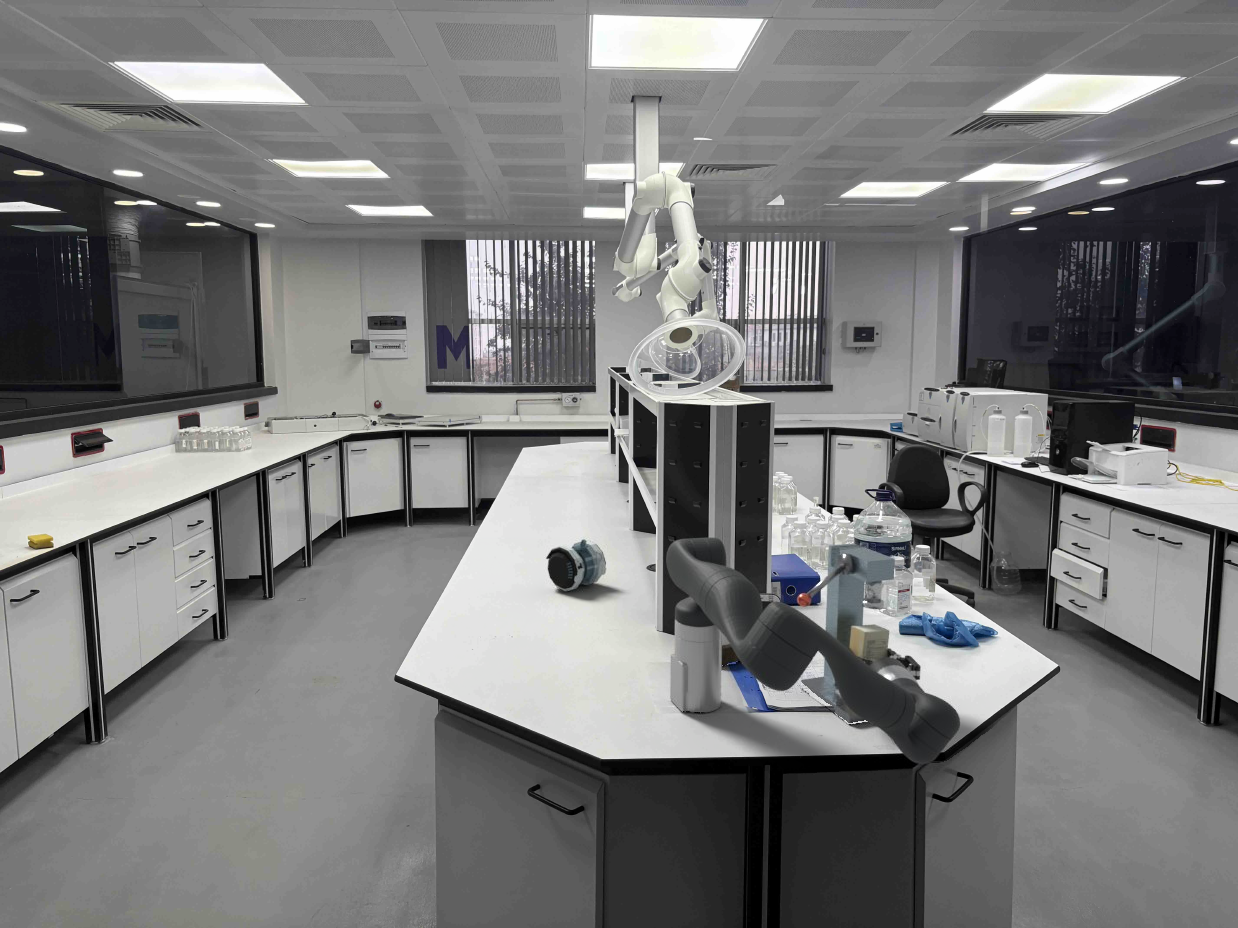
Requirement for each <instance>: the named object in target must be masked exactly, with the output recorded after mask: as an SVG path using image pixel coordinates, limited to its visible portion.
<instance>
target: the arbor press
mask: <svg viewBox="0 0 1238 928" xmlns="http://www.w3.org/2000/svg"><path fill="white" fill-rule="evenodd" d="M827 557H828V560H827V576H825V577H824V578H823V579H821V580H820V581H819V582H818V583H817V584H815V586H813V588H811V589H810V590H809V591H807V593H805V592H803V593H800V594H798V596H797V598H796V602H797V604H798V605H799V606H800V607H803V608H807V607H809V606H810V605H811V603H812V598H813V597H814V596H815V595H817V594H818V593H819V592H820V591H821V590H823V589H824V588H825V587H826V606H825V607H826V608H825V609H826V610H825V611H826V612H825V631H827V632H828V633H829V634H831V635H832V636H833V637H834V638H836V639H837V640H838V641H839V642H841V643H842V644H843V645H844V646H846V647H847V648H850V638H851V627H852V626H860V625H864V623H863V622H864V608H866V609H869V610H880V609H884V608H885V601H884V600H883V599H882V594H883V593H882V592H883V591H882V590H883V589H882V588H883V581H891V580H892V581H893V580H895V565H896V559H895V558H894V557H892V556H889V555H886V554H883V553H880V552H878V551H875V550H872V549H870V548H868V547H865V546H862V545H859V544H857V543H854V542H853V543H846V544H845V543H843V544H832V545H828V555H827ZM823 658H824V657H823ZM823 660H824V661H823V662H824V663H823V665H824V666H823V676H820V677H818V676H817V677H812V678H806V679H800V683H801V682H802V683H803V684H804V685H805V686H807V687H808V688H809V689H810V690H811V691H812V692H813V693H815V694H816V695H817V696H818V697H820V698H821V699H823V700H824V701H825V702H826V703H828V704H830V705H832V706H833V707H834V709H835V713H836V714H837V715H838V716H840V717H842V718H843V719H844V720H846V721H847V722H848V723H853V722H858V721H864V720H865V719H863V718H861V717H859V716H858V715H857V714H855V713H854V712H853V711H852V710H850V708H849V707H848V706H847V705H846V704H845V702H844V701H843V699H842V697H841V695H840V693H839V690H838V688H837V685H836V682H835V679H834V677H833V674H832V672H831V669H830V667H829V665H828V663H827V661H826V659H825V658H824V659H823Z"/></svg>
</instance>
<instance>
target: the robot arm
mask: <svg viewBox="0 0 1238 928" xmlns="http://www.w3.org/2000/svg"><path fill="white" fill-rule="evenodd" d="M665 560H666V562H665V563H666V569H667V572H668V575H669V577H670V579H671V581H672V582H673V583H674V585H675V586H676V587H678V589H680V590H681V591H682V592H684V593H685V594H687V595H688V597H686V598H684V599H682V600H680V601H678V602H677V603H676V605H675V608H674V653H672V654H671V655H670V679H669V681H670V683H669V685H670V687H669V688H670V691H669V692H670V694H669V695H670V696H669V699H671V700H670V701H671V702H672V703H673V704H674V706H675V707H676V708H677V707H678V708H679V709H680V710H681V711H682V712H681V711H680V710H679V709H678V708H677V709H678V710H679V711H680V712H681V713H687V712H686V711H690V712H689V713H694V712H700V714H701V712H705V713H710V712H713V711H716V710H718V709H719V708H720V707H721V704H722V702H721V701H722V667H723V666H722V645H723V636H724V637H725V638H726V640H727V641H728V643H729V644H730V645H731V647H732V648H733V650H734V652H735V653H736V655H737V657H738V658H739V660H740V661H739V662H740V663H741V664H742V666H743V667H744V669H746V670H747V671H748V673H749V674H750V675H752V677H754V679H756V681H758V682H759V683H760V684H762V685H764V686H765V687H767V688H769V689H771V690H774V691H778V692H785V691H788V690H790V689H791V688H793V686H795V684H796V683H797V682H799V679H800V678H801V676H802V675H803V673H804V672H805V671H806V669H808V667H809V666H810V664H811V662H812V661H813V659H814V658H815V657H816V655H817V653H820V654H821V656H822V657H823V658H825V659H826V661H827V663H828V665H829V667H830V669H831V672H832V674H833V677H834V679H835V682H836V685H837V688H838V690H839V693H840V695H841V697H842V699H843V701H844V702H845V704H846V705H847V706H848V707H849V708H850V710H852V711H853V712H854V713H855V714H857V715H858V716H859V717H861V718H863V719H865V720H866V721H868V722H867V723H870V724H872V725H873V726H875V727H877V728H879V730H881V731H883V732H884V733H885V734H886V735H887V736H888V737H889V738H890V740H892V742H893V743H894V744H895V745H896V747H897V748H898V749H899V750H900V752H901V753H902V754H903V755H904V756H905V757H906V758H907V759H909V760H910V761H911V762H913V763H916V764H919V765H926V764H930V763H932V762H933V761H935V760H936V759H937V758H938V756H939V755H940V754H941V753H942V751H943V750H944V749H945V747H947V745H948V744H949V743H950V742H951V740H952V739H953V738H954V736H956V734H957V733H958V732H959V729H960V726H961V718H960V716H959V713H958V712H957V710H956V709H955V708H954V707H953V705H951V703H949V702H947V701H946V700H945V699H942V698H940V697H939V696H936V695H934V694H930V693H928V692H925V690H924V689H923V688H922V687H921V686H920V684H919V682H918V681H919V680H921V670H922V669H921V667H922V665H920V664H919V663H918V662H917V661H916V660H915V659H914V658H913V656H911V655H907V654H906V655H904V657H902V654H899V653H897V652H896V651H894V650H892V648H891V647H888V651H887V657H884V658H880V659H877V660H876V659H870V658H868V657H865V656H863V655H861V656H857V655H855V654H854V653H853V651H852V650H851V649H850V648H847V647H846V646H844V645H843V644H842V643H841V642H839V641H838V640H837V639H836V638H834V637H833V636H832V635H831V634H829V633H828V632H827V631H826V629H825V628H823V627H821V625H819V624H818V623H816V622H815V621H814V620H812V619H811V618H810V617H808V616H807V615H805V614H804V613H802V612H801V611H799V610H797V608H795V607H793V606H791V605H789V604H787V603H784V602H782V601H777V600H776V601H772V602H770V603H769V604H768V605H767V606H766V607H765V608H763V601H762V596H761V594H760V593H759V589H758V588H757V587H756V586H755V584H753V582H752V581H750V580H749V578H747V577H746V576H745V575H743V573H741V572H740V571H737V570H736V569H734V568H732V567H728V566H727V553H726V547H725V545H724V543H723V542H722V540H721V539H719V537H718V538H717V537H695V538H694V537H693V538H681V539H677V540H674V541H673V542H671V544H670V545H669V547H668V549H667V551H666V557H665ZM864 662H865V663H864ZM683 711H685V712H683Z"/></svg>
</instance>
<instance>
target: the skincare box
mask: <svg viewBox="0 0 1238 928" xmlns="http://www.w3.org/2000/svg"><path fill="white" fill-rule="evenodd" d="M889 639H890V629H888V628H885V627H883V626H880V625H877V624H863V625H860V626H852V627H851V638H850V649H851V650H852V651H853V653H854V654H855V655H857V656H861V655H863V656H865V657H868V658H870V659H876V660H877V659H880V658H884V657H887V651H888V648H889ZM864 663H865V662H864Z"/></svg>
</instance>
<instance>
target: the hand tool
mask: <svg viewBox="0 0 1238 928" xmlns="http://www.w3.org/2000/svg"><path fill="white" fill-rule="evenodd" d="M736 661H739V662H741V661H740V660H739V658H738V657H737V655H736V653H735V652H734V650H733V648H732V647H731V645H730V643H729V644H722V665H727V664H728V663H732V662H736Z"/></svg>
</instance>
